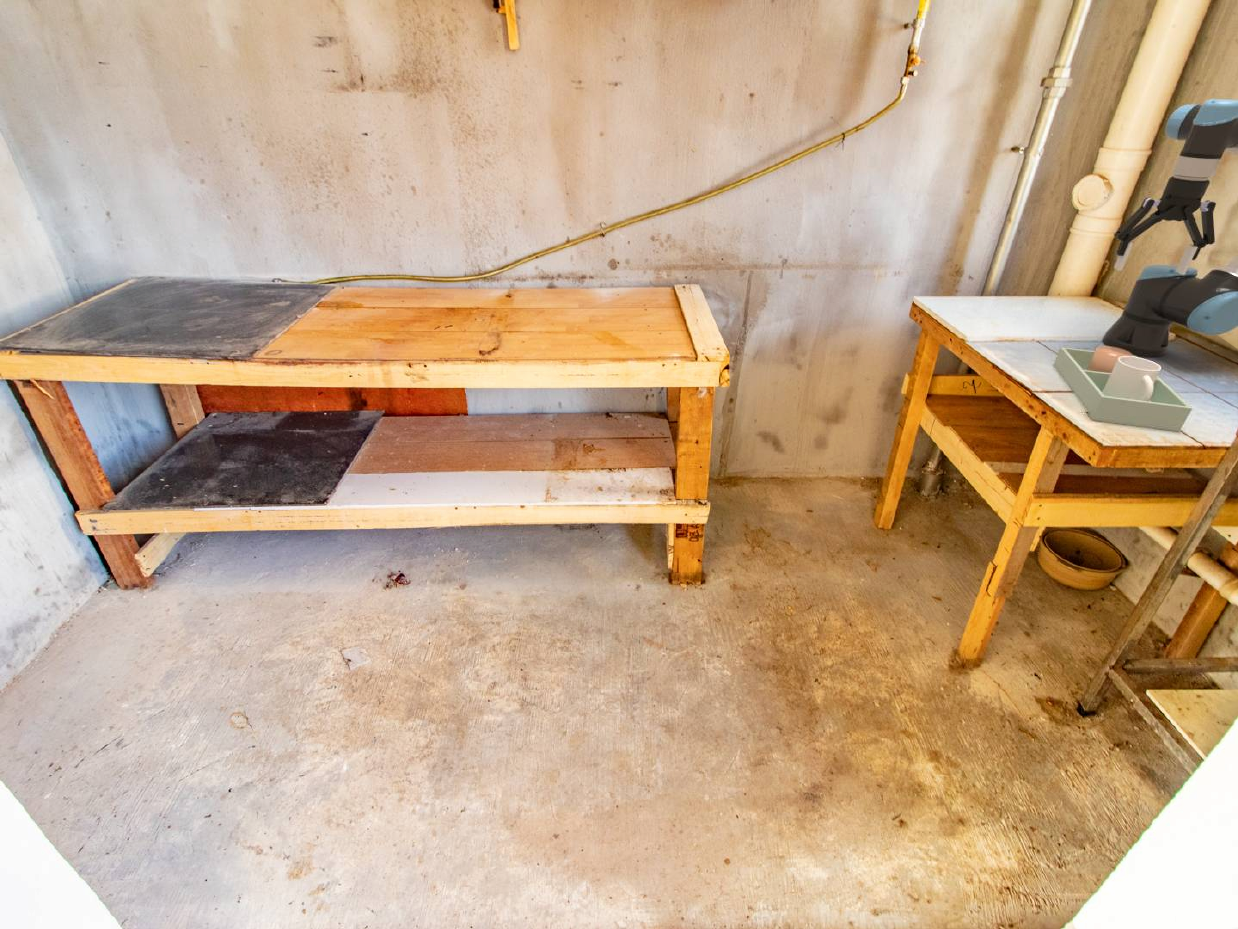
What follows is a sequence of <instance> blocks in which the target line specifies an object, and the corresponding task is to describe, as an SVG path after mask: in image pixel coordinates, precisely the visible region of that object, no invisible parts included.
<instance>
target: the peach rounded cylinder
mask: <svg viewBox="0 0 1238 929" xmlns="http://www.w3.org/2000/svg"><path fill="white" fill-rule="evenodd" d="M1094 351H1095V353H1094V355H1093V357H1092V359H1091V362H1090V364H1089V366H1088V368H1087V370H1088V371H1096V372H1104V373H1111V372H1112V370H1113V368H1114V366H1115V364H1116V362H1117V360H1118V358H1119V357H1122V356H1132V357H1133V356H1134V354H1131V353H1130V352H1128V351H1126V350H1123V349H1120V348H1116V347H1111V346H1107V345H1099V346H1097V347H1096V349H1095V350H1094Z"/></svg>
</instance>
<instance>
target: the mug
mask: <svg viewBox="0 0 1238 929" xmlns="http://www.w3.org/2000/svg"><path fill="white" fill-rule="evenodd" d="M1161 370H1162V366H1161V365H1160V364H1158V363H1156V362H1155V361H1152V360H1149V359H1147V358H1143V357H1138V356H1137V357H1132V356H1122V357H1119V358H1118V360H1117V362H1116V364H1115V366H1114V368H1113V370H1112V372H1111V374H1110V377H1109V379H1108V381H1107V383H1106V385H1105V387H1104V389H1103V391H1102V393H1103V394H1104V395H1105V396H1109V397H1117V398H1125V399H1132V400H1140V401H1149V400H1150V398H1151V396H1152V393H1153V384H1154V382H1155V380H1156V378H1157V376H1158V377H1159V374H1160V372H1161Z"/></svg>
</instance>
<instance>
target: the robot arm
mask: <svg viewBox="0 0 1238 929" xmlns="http://www.w3.org/2000/svg"><path fill="white" fill-rule="evenodd" d="M1165 135H1167V137H1168V138H1170V139H1174V140H1177V141H1184V143H1183V147H1182V149H1181V151H1180V153H1179V155H1178V157H1177V160H1176V162H1175V165H1174V166H1173V168H1172V172H1171V174H1172V175H1173V176H1170V177H1169V178H1168V180H1167V182H1166V185H1165V188H1164V189H1163V192H1162V195H1161V198H1160V199H1158V200H1157V199H1153V198H1150V197H1146V198H1144V200H1143V201H1142V203H1141V205H1140V207H1139V208H1138V209H1137V210H1136V211H1135V212H1134V213H1133V214H1132V215H1131V216H1130V217H1129V218H1128V219H1127V220H1126V221H1125V222H1124V223H1123V224H1122V226H1120V227H1119V228H1118V230H1116V232H1115V233H1114V234H1113V237H1114V238H1116V239H1118V240H1119V241H1120V242H1119V245H1118V247H1117V249H1116V252H1115V253H1116V255H1117V259H1116V261H1115V263H1114V266H1113V268H1114V269H1115V270H1116V271H1118V272H1120V271H1121V272H1122V271H1123V269H1124V266H1125V264H1126V261H1127V259H1128V257H1129V255H1130V252H1131V250H1132V248H1133V245H1134V243H1133V242H1132V241H1133V240H1135V239H1136V238H1137V237H1139V236H1140V235H1142V234H1143V233H1145V232H1146V231H1148V230H1149V229H1150V228H1152V227H1153V226H1154V225H1156V224H1157V223H1160V222H1162V221H1163V220H1164V221H1166V222H1171V221H1175V222H1183V223H1184V225H1185V227H1186V229H1187V232H1188V234H1189V236H1190V239H1191V242H1192V243H1193V244H1192V243H1191V244H1189V243H1188V244H1187V247H1186V248H1185V250H1184V253H1183V255H1182V257H1181V260H1180V262H1179V263H1178V265H1173V264H1170V265H1169V264H1151V265H1148V266H1146V267H1144V268H1143V269H1142V271H1141V273H1140V275H1139V276H1138V278H1137V279H1136V282H1135V284H1134V286H1133V288H1132V291H1131V293H1130V295H1129V298H1128V300H1127V302H1126V304H1125V306H1124V309H1123V311H1122V313H1121V315H1120V317H1119V318H1118V319H1117V320H1116V321H1115V322H1114V323H1113V324H1112V325H1111V327H1109V328H1108V329H1107V331H1106V332H1105V333H1104V335H1103V338H1102V339H1101V340H1102V343H1103V344H1104V345H1105V346H1111V347H1116V348H1120V349H1123V350H1126V351H1128V352H1130V353H1131V354H1132V355H1133V356H1141V357H1151V358H1154V357H1155V358H1156V357H1162V356H1164V355H1165V353H1166V352H1167V349H1168V347H1169V341H1170V330H1171V325H1172V324H1173V323H1175V324H1178V325H1180V326H1182V327H1185V328H1187V329H1190V330H1191V331H1193V332H1196V333H1201V334H1205V335H1206V336H1207V335H1209V336H1216V335H1222V334H1223V335H1224V334H1226V333H1229V332H1230V331H1232V330H1234V329H1236V328H1237V327H1238V255H1236V257H1234V258H1233V259H1232V260H1231V261H1230V262H1229V263H1228V264H1227V265H1226V266H1225V267H1221V268H1213V269H1212V270H1211V271H1209V272H1208V273H1207V274H1206V275H1205V276H1204V277H1202V278H1199V277H1197V276H1198V271H1199V270H1198V269H1197V268H1194V267H1190V265H1191V263H1192V261H1195V260H1197V257H1198V256H1199V254H1200V252H1201V249H1203V248H1205V247H1206V246H1208V245H1210V246H1211V245H1213V244H1214V243H1215V241H1216V239H1215V236H1216V235H1215V222H1214V210H1215V208H1216V205H1217V203H1216V202H1215V201H1212V200H1209V199H1208V200H1205V201H1202V199H1203V198H1204V196H1205V194H1206V192H1207V189H1208V188H1209V186H1210V183H1211V182H1210V178H1213V177H1214V174H1215V173H1216V171H1217V169H1218V166H1219V164H1220V162H1221V160H1222V157H1223V155H1224V153H1225V152H1228V153H1229V154H1234V155H1237V156H1238V99H1219V98H1210V99H1207V100H1205V101H1203V103H1202V104H1199V103H1196V104H1184V105H1181V106H1179V107H1178V108H1177V109H1175V110H1174V111H1173V112H1172V113H1171V115H1170V117H1169V118H1168V120H1167V121H1166V125H1165ZM1155 207H1156V208H1157V210H1155V211H1154V212H1153V213H1151V214H1150V215H1149V216H1148V217H1147V218H1145V217H1146V216H1147V215H1148V213H1150V211H1151V210H1152V209H1155ZM1197 210H1199V211H1200V213H1201V214H1200V215H1201V228H1202V229H1201V230H1202V231H1200V229H1199V227H1198V224H1197V222H1196V217H1195V215H1194V213H1195V212H1197ZM1143 218H1145V219H1144V220H1143ZM1142 220H1143V221H1142ZM1141 221H1142V222H1141ZM1139 222H1140V223H1139ZM1201 232H1202V233H1201Z"/></svg>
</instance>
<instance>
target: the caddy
mask: <svg viewBox="0 0 1238 929" xmlns="http://www.w3.org/2000/svg"><path fill="white" fill-rule="evenodd" d="M1094 353H1095V350H1088V349H1080V348H1079V349H1078V348H1069V347H1060V349H1059V350H1058V353H1057V355H1056V357H1055V360H1054V361H1053V362H1054V363H1053V367H1054V368H1055V370H1056V371H1057V372H1058V373H1059V375H1060V376H1061V377H1062V379H1063V380H1064V381H1065V382H1066V384H1067V385H1068V387H1069V388H1070V389H1071V391H1072V392H1073V393H1074V395H1075V396H1076V397H1077V399H1078V400H1079V401H1080V403H1081V404H1082V405H1083V406H1084V408H1085V409H1086V410H1087V411H1084V412H1085V413H1086V415H1087V417H1090V418H1089V419H1090V420H1091V421H1097V422H1105V423H1113V424H1118V425H1125V424H1126V426H1134V427H1142V428H1148V429H1155V430H1157V429H1158V430H1165V431H1171V432H1180V431H1181V430H1182V427H1183V426H1184V424H1185V422H1186V421H1187V419H1188V418H1189V415H1190V413H1191V412H1192V410H1193V408H1192V407H1191V405H1189V403H1187V402H1186V401H1185V400H1184V399H1183V398H1182V397H1181V395H1178V393H1176V391H1175V390H1173V388H1171V387H1170V386H1169V385H1168V384H1167V383H1166V382H1165V381H1164V380H1163V379H1161V378H1160V377H1159V375H1158V376H1157V378H1156V380H1155V382H1154V384H1153V393H1152V396H1151V398H1150V400H1149V401H1140V400H1132V399H1125V398H1117V397H1109V396H1105V395H1104V394H1103V393H1102V391H1103V389H1104V387H1105V385H1106V383H1107V381H1108V379H1109V377H1110V374H1111V373H1104V372H1096V371H1088V370H1087V368H1088V366H1089V364H1090V362H1091V359H1092V357H1093V355H1094ZM1133 357H1138V355H1133Z"/></svg>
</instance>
